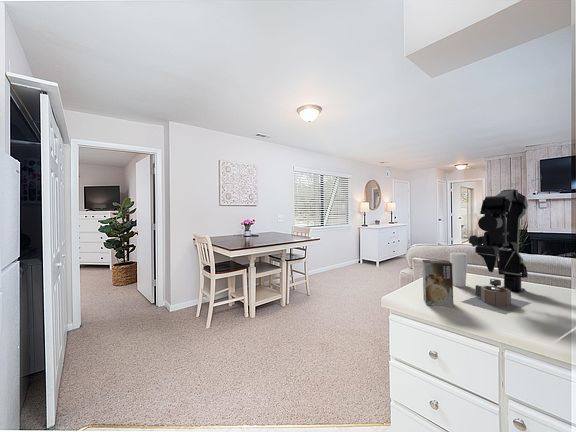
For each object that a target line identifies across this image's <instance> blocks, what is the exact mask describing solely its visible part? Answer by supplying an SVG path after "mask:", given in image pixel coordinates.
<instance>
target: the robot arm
mask: <svg viewBox="0 0 576 432" xmlns="http://www.w3.org/2000/svg"><path fill="white" fill-rule="evenodd" d="M527 209H528V200H527V197H526V195H524V194H522V193H519V191H518V189H515V188H514V189H513V188H512V189H511V188H510V189H503V190H501V191H500V192H499V193H498V194H497V195H490V196H485V197H484V199H483V200H482V204H481V208H480V210H479V211H480V212H479V214H480V215H483V216H481V217H480V218H479V219H478V222H477V225H478V227H479V229H480V230H481V231H484V232H483V235H481V236H477V235H470V236H469V239H468V243H469V244H471V246H472V247H475V248H474V249H475V252H474V253H476V254H477V255H478V256H480V257H481V258H483V260H484V263H485V264H486V267H487V270H488V272H490V273H493V272H494V270H495V267H496V266H497V271H498V275H502V276H503V286H501V287H502V288H507V289H508V290H510V291H511V292H514V293H515V292H516V293H521V292H523V291H525V290H526V289H525V288H523V287H522V278H523V279H524V278H525V279H526V278H528V269H527V267H526V264H525V263H524V258H523V257H522V255H521V254H520V253H519V251H520V231H521V230H520V229H521V219H522V218H523V217H524V216H525V214H526V211H527Z"/></svg>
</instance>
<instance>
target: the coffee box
mask: <svg viewBox="0 0 576 432" xmlns="http://www.w3.org/2000/svg"><path fill="white" fill-rule="evenodd" d="M422 291H423V293H422V294H423V301H424V303H425V305H426V306H433V307H434V306H435V307H450V308H454V286H453V275H452V263H451V262H450V260H441V259H422Z"/></svg>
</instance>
